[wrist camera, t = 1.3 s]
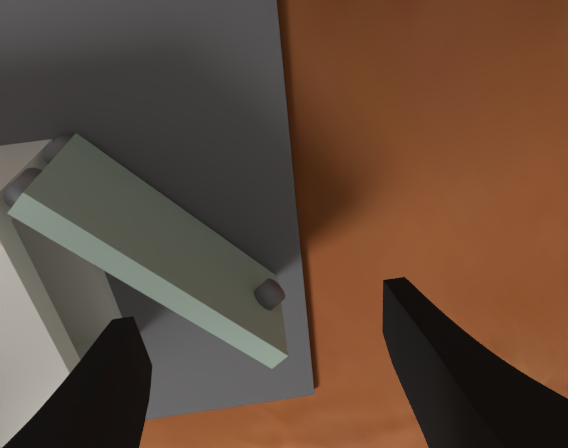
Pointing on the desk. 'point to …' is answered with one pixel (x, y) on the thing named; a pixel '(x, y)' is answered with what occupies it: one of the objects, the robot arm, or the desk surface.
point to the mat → (175, 156)
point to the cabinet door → (151, 245)
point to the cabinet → (41, 304)
